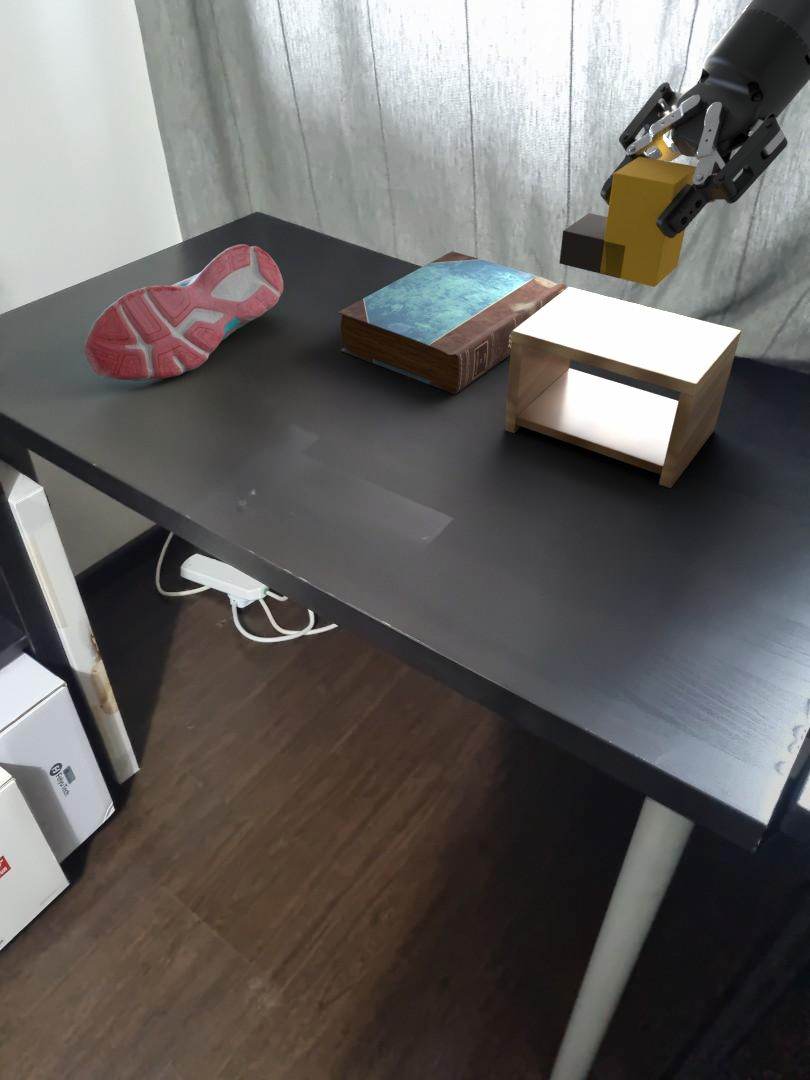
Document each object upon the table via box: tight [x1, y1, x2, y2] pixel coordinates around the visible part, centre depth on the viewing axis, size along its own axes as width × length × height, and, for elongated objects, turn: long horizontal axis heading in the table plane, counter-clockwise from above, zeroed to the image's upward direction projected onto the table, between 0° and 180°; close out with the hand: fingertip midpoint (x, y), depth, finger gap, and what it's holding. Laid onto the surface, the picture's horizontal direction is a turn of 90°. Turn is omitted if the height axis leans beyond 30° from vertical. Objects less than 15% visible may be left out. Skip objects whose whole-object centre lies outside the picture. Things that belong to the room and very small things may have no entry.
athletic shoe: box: [83, 243, 284, 382], centre depth 99 cm, size 27×9×12 cm
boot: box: [559, 157, 697, 288], centre depth 71 cm, size 9×5×8 cm, turn 55°
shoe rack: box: [504, 286, 742, 489], centre depth 82 cm, size 18×12×11 cm, turn 55°
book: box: [337, 250, 567, 395], centre depth 100 cm, size 23×18×5 cm
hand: (634, 215), depth 69 cm, fingers closed on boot, 7 cm apart
